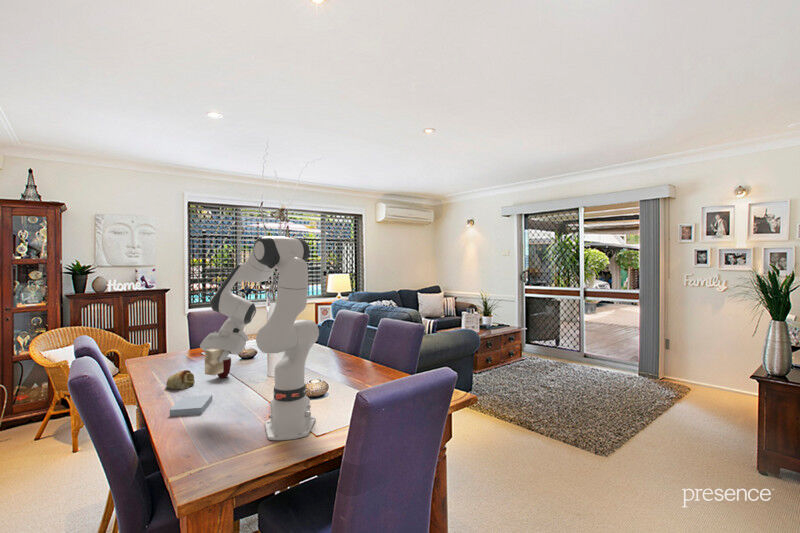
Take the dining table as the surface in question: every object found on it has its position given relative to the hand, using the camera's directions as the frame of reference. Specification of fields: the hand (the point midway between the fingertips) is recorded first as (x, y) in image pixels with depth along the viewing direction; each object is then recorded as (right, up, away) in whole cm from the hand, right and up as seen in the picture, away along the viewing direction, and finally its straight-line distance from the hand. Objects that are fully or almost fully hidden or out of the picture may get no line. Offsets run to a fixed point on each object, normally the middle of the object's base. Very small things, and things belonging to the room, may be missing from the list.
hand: (212, 360), depth 167 cm
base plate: (-11, -22, +4) cm, 24 cm away
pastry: (-32, -21, +34) cm, 51 cm away
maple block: (0, -5, +1) cm, 5 cm away
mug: (-18, -20, +47) cm, 55 cm away
